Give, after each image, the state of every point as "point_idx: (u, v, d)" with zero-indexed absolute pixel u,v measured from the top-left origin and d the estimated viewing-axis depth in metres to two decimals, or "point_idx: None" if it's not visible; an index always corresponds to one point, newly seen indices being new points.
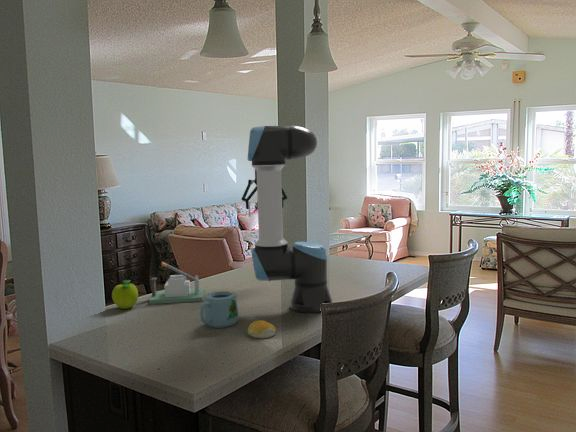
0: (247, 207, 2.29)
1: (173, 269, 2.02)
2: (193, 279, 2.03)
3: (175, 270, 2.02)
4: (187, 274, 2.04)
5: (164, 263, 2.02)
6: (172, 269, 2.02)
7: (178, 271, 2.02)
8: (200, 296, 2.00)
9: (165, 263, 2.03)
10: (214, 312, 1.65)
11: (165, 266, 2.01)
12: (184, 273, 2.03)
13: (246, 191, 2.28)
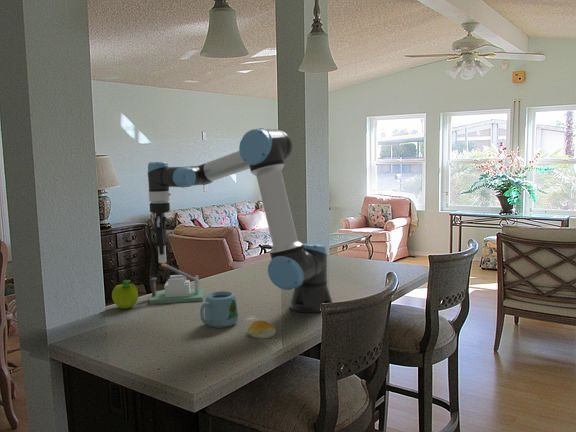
0: None
1: (173, 269, 2.02)
2: (193, 279, 2.03)
3: (175, 270, 2.02)
4: (187, 274, 2.04)
5: (164, 264, 2.02)
6: (172, 269, 2.02)
7: (178, 271, 2.02)
8: (200, 296, 2.00)
9: (165, 264, 2.03)
10: (214, 312, 1.65)
11: (165, 266, 2.01)
12: (184, 273, 2.03)
13: None
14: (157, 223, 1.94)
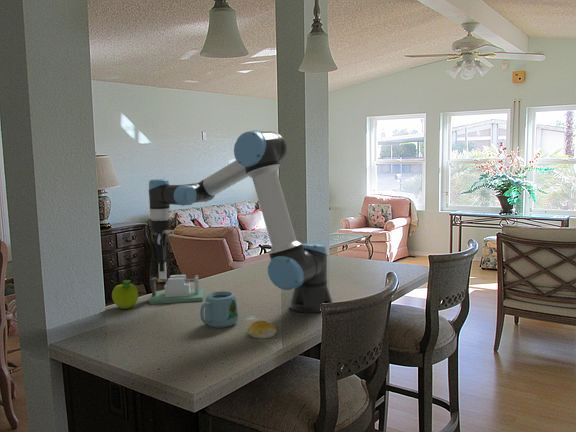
0: None
1: None
2: (193, 280, 2.03)
3: None
4: (185, 279, 2.04)
5: (160, 279, 2.02)
6: None
7: None
8: (200, 296, 2.00)
9: (161, 279, 2.03)
10: (214, 312, 1.65)
11: (162, 281, 2.02)
12: None
13: None
14: (158, 241, 1.95)
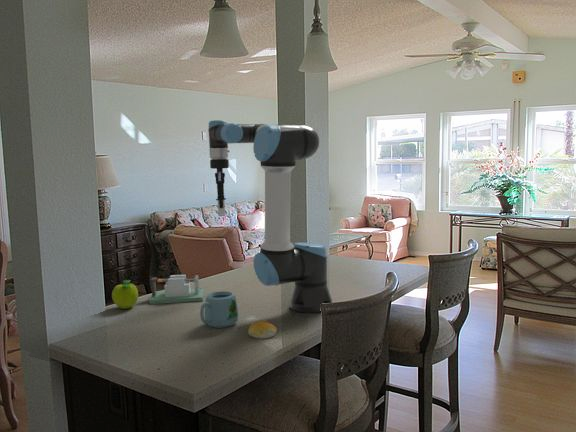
0: None
1: None
2: (193, 280, 2.03)
3: None
4: (185, 279, 2.04)
5: (160, 279, 2.02)
6: None
7: None
8: (200, 296, 2.00)
9: (161, 279, 2.03)
10: (214, 312, 1.65)
11: (162, 281, 2.02)
12: None
13: None
14: (218, 177, 2.07)
